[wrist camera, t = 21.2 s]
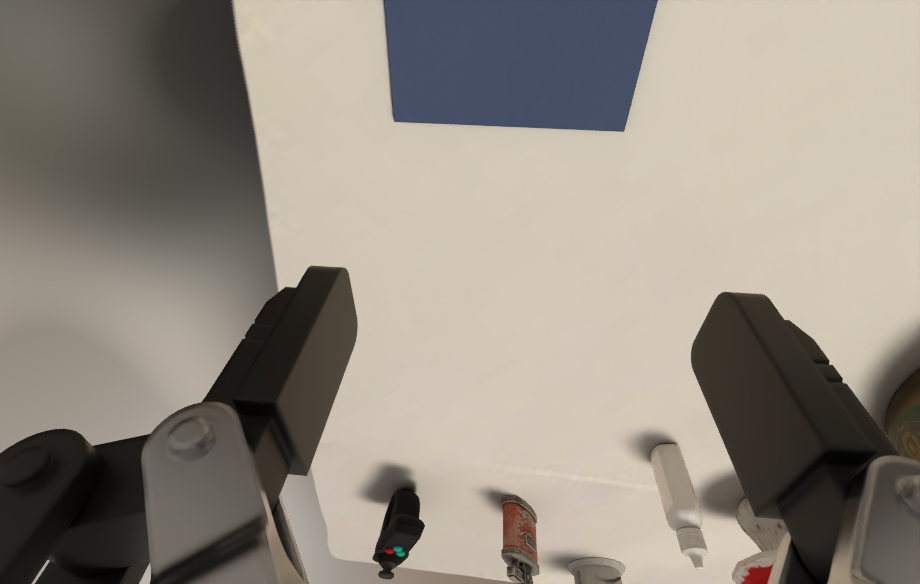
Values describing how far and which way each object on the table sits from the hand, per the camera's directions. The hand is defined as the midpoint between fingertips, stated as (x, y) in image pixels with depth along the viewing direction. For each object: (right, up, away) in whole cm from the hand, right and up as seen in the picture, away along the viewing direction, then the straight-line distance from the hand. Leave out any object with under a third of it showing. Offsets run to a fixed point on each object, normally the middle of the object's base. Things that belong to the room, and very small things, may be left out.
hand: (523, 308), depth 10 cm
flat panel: (+2, +16, +15) cm, 22 cm away
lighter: (+7, -31, +54) cm, 63 cm away
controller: (-9, -28, +53) cm, 61 cm away
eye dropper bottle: (+23, -19, +42) cm, 52 cm away
